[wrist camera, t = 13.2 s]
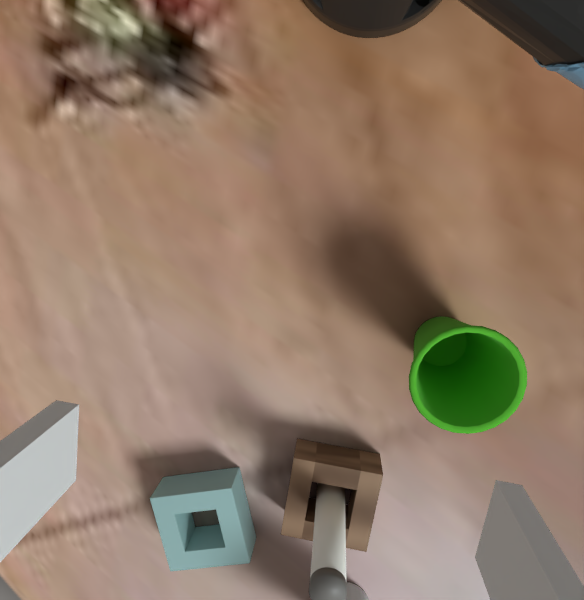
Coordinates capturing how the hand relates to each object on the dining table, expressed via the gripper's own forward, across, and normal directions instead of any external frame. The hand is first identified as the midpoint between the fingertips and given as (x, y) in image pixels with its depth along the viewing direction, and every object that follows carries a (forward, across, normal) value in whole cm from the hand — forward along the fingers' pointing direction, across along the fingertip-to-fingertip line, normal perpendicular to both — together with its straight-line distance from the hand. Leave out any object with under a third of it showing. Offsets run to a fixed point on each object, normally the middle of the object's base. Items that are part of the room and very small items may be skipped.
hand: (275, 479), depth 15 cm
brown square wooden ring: (+34, +4, -22) cm, 41 cm away
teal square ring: (+34, -8, -28) cm, 45 cm away
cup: (+35, +13, -4) cm, 37 cm away
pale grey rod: (+34, +4, -22) cm, 41 cm away
